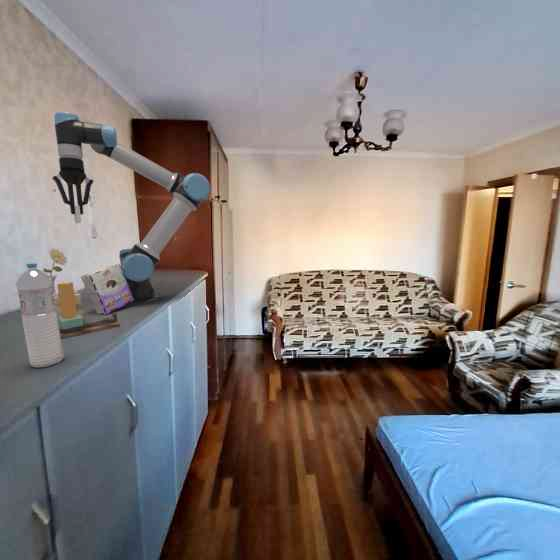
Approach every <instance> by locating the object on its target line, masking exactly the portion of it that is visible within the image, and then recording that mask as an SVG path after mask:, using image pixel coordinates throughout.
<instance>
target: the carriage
mask: <svg viewBox="0 0 560 560" xmlns="http://www.w3.org/2000/svg"><path fill="white" fill-rule="evenodd" d="M57 291H58V293H59V299H60V306H61V313H62V316H59V317H58V318H59V324H60V327H61V328H62V330H63V329H68V328H73V327H78V326H83V320H82V317H81V316H80V315H79V314H78V313H77V309H76V302H75V295H74V291H75V288H74V281H66V282H65V281H64V282H63V281H62V282H60V283H57ZM58 293H57V294H58Z"/></svg>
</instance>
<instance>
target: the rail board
mask: <svg viewBox="0 0 560 560" xmlns="http://www.w3.org/2000/svg"><path fill="white" fill-rule="evenodd" d="M111 313H112V316H111V317H106V318H105V317H104V318H100V319H94V320H90V321H89V320H88V321H84V322H83V326H78V327H73V328H68V329H63V330H62V328H61V326H60V327H59V328H60V334H61V340H63V339H67V338H71V337H72V338H73V337H76V336H81V335H84V334H89V333H90V334H91V333H95V331H96V332H100V331H104V330H109V329H114V328H115V329H116V328H120V327H121V326H120V323H119V322H118V321H119V320H118V314H117V313H116V312H115V311H112V312H111Z"/></svg>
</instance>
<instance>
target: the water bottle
mask: <svg viewBox="0 0 560 560" xmlns="http://www.w3.org/2000/svg"><path fill="white" fill-rule="evenodd" d="M26 268H27V270H26V271H25V272H23V273H22V274H21V275H20V276H19V277H18V279H17V280H16V283H15V286H16V290H17V294H18V300H19V305H20V310H21V318H22V319H21V321H22V326H23V330H24V331H23V332H24V337H25V338H24V339H25V344H26V348H27V355H28V360H29V364H30V366H31V367H32V368H35V369H38V368H39V369H41V368H46V367H47V368H48V367H51V366H55V365H57V364H59V363H60V362H62V361H63V360H64V354H65V353H64V349H63V348H64V347H63V341H62V339H61V334H60V328H59V321H58V314H57V310H56V305H55V298H54V292H53V286H52V285H53V281H52V279H51V278H50V277H49V275H48V274H47V272H44V271H43V270H40V269H38V264H37V262H30V263H26Z"/></svg>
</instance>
